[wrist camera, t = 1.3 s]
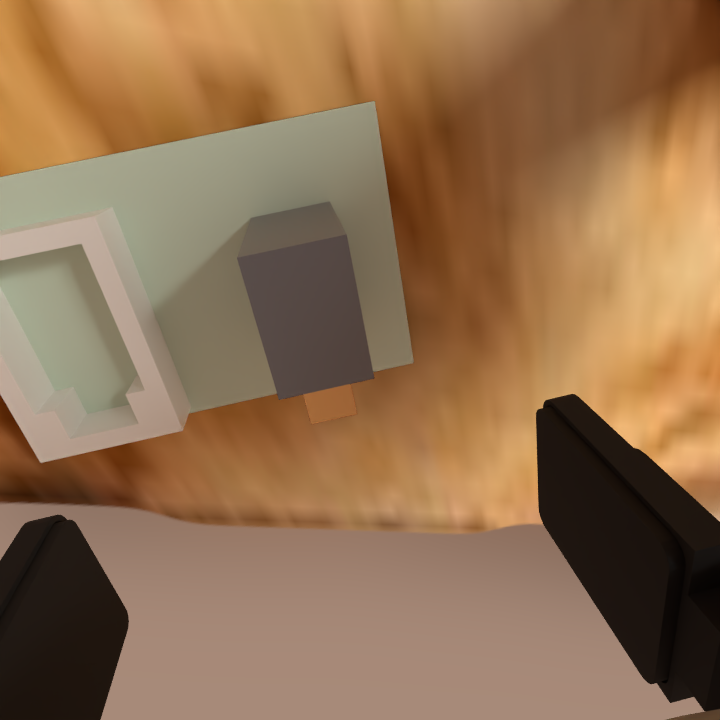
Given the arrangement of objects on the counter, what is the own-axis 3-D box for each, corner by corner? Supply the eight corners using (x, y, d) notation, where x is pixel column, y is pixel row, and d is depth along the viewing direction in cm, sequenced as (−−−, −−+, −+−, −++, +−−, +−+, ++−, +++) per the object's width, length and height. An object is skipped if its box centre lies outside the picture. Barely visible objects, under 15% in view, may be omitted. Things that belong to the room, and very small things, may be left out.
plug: (329, 201, 25) (346, 234, 18) (356, 335, 29) (380, 408, 21) (250, 217, 25) (236, 257, 18) (287, 351, 28) (287, 429, 21)
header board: (369, 102, 25) (384, 99, 21) (408, 352, 31) (424, 382, 28) (-80, 193, 24) (-144, 206, 20) (52, 432, 30) (21, 473, 27)
